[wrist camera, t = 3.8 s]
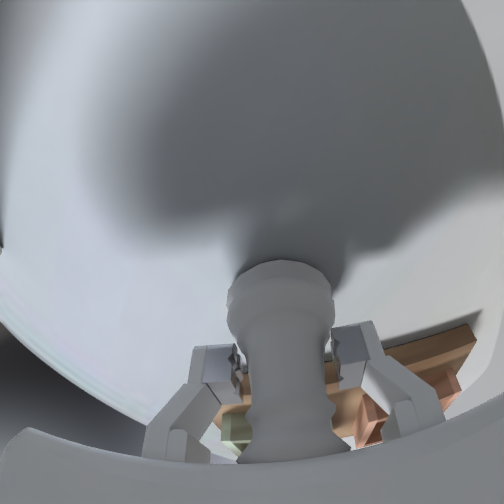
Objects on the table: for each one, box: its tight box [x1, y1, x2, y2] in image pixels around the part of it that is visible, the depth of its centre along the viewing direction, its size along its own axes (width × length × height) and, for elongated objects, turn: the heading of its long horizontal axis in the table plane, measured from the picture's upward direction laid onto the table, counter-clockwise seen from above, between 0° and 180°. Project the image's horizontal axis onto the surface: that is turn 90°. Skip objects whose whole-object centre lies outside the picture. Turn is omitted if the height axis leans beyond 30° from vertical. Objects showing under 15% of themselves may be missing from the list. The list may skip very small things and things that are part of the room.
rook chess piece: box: [226, 259, 351, 464], centre depth 9 cm, size 4×4×8 cm
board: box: [213, 324, 477, 457], centre depth 17 cm, size 12×18×4 cm, turn 102°
